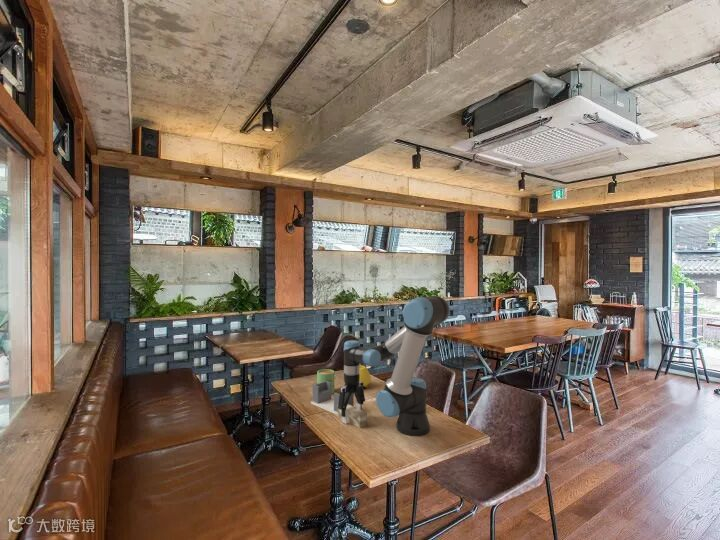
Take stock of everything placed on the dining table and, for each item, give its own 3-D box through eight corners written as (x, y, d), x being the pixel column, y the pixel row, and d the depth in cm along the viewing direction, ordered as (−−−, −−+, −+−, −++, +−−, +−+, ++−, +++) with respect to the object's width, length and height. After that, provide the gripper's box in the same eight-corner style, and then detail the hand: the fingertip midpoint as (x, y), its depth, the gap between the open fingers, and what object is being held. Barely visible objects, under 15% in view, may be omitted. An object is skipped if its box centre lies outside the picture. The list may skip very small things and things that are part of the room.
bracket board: (355, 409, 195) (355, 390, 195) (339, 415, 187) (339, 395, 187) (326, 398, 212) (326, 380, 211) (310, 403, 204) (310, 385, 204)
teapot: (337, 383, 238) (337, 361, 238) (357, 379, 247) (357, 358, 246) (354, 392, 221) (354, 369, 221) (375, 387, 230) (376, 365, 230)
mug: (328, 396, 215) (328, 375, 215) (313, 393, 220) (313, 372, 220) (340, 389, 226) (340, 369, 225) (326, 386, 231) (326, 367, 231)
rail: (367, 425, 177) (367, 413, 176) (359, 428, 174) (359, 415, 174) (344, 414, 190) (344, 402, 190) (337, 416, 187) (337, 404, 187)
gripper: (361, 367, 192) (361, 411, 192) (329, 376, 177) (329, 424, 177) (372, 370, 186) (372, 416, 187) (340, 379, 171) (340, 429, 172)
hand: (351, 420), depth 182 cm, fingers open, 8 cm apart
